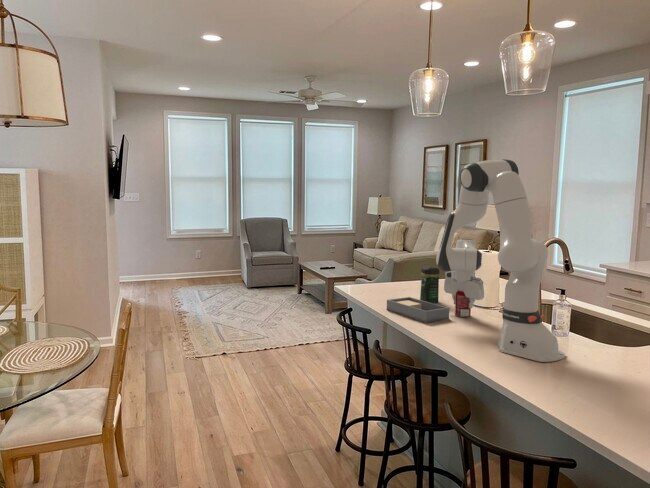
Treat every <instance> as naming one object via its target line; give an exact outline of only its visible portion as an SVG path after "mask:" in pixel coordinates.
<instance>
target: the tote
mask: <svg viewBox="0 0 650 488" xmlns="http://www.w3.org/2000/svg"><path fill="white" fill-rule="evenodd" d="M406 300H409V301H413V302H416V303H420V304H421V309H418V308H415V307H411V306H408V305H405V304H401V303H398V302H399V301H406ZM386 311H388V312H391V313H395V314H397V315H400V316H402V315H403V317H404V318H409V319H412V320H414V321H418V322H422V323H423V324H428V323H429V324H430V323H436V322H441V321H446V320H450V307H447V306H443V305H439V304H438V303H434V304H433V303H430V302H426V301H422V300H420V298H419V299H418V298H415V297H411V296H406V297H399V298H389V299H386Z"/></svg>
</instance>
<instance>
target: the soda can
mask: <svg viewBox="0 0 650 488" xmlns="http://www.w3.org/2000/svg"><path fill="white" fill-rule="evenodd" d="M469 303H470V300H469V298H467V297H466V296H465V293H464V291H461V290H457V292H456V293H455V304H454V315H455V317H456V316H457V317H459V318H469V317H471V309H472V308H467V304H469Z"/></svg>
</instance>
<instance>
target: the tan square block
mask: <svg viewBox="0 0 650 488" xmlns="http://www.w3.org/2000/svg"><path fill="white" fill-rule="evenodd" d="M398 303H401V304H405V305H408V306H411V307H415V308H418V309H421V304H420V303H416V302H413V301H409V300H406V301H399V302H398Z"/></svg>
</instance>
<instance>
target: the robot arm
mask: <svg viewBox="0 0 650 488" xmlns="http://www.w3.org/2000/svg"><path fill="white" fill-rule="evenodd" d="M519 172H520V171H519V168H518V164H517V163H516V162H515V161H514V160H510V159H502V158H501V159H494V160H490V159H489V160H488V159H487V160H482V161H478V162H471V163H468V164H466V165H464V166H463V167H462V169H461V171H460V174H459V175H460V176H459V178H460V179H459V180H460V183H461V186H460V190H459V198H458V204H457V207H456V208H455V210H454V211H451V212H450V213H449V215H448V217H447V221H446V223H445V227H444V231H443V234H442V237H441V243H440V246H439V248H438V250H437V253H436V258H435V262H436V266H437V268H438V269H439V270H441V271H443V272H445V273H444V276H445V279H444V282H443V283H444V284H443V285H444V286H443V291H444V292H445V293H446V294H451V298H452V300H453V305H455V293H456V292H457V290H461V291H464V293H465V296H466V297H467V298H469V300H470V303H469V304H467V308H471V309H473V308H474V303H475V302H476V301H481V300H483V299H484V298H485V289H484V281H483V280H482V278H480V277H477V276H476V277H475V274H476V271H478V270H479V269H480V268H481V267H482V257H483V253H482V252H481V251H480V250H478V249H477V248H476V241H475V240H474V239H472V238H460V239H457V240H456V244H455V247H452V245H453V241H454V237H455V234H456V232H457V231H458V230H459V229H461V228H463V227H465V226H468V225H472V224H475V223H477V222H479V221H480V220H482V219H483V218H484V216H485V215H486V214H487V210H488V205H489V203H488V202H489V192H490V193H491V194H492V198H493V203H494V204H493V205H494V208H495V211H496V216H497V221H498V226H499V244H500V245H499V251H498V252H497V261H498V264H499V265H500V267H501V268H502V269H504V270H505V271H508V272H510V273H509V274H510V275H509V278H508V280H507V282H506V284H505V287H504V302H503V303H504V305H503V307H502V316H501V318H502V327H501V332H500V336H499V339H498V342H497V347H498V348H499V351H500V352H501V353H505V354H509V355H513V356H517V357H520V358H525V359H528V360H532V361H535V362H539V363H540V362H541V363H550V362H557V361H560V360H563V359H565V357H566V353H565V352H564V351H561V350H559V343H558V341H559V340H558V338H557V336H556V335H554V333H552V331H551V330H549V328H547V326H546V325H545V324H544V323H543V321H542V319H545V314H541V313H540V311H539V310H538V308H539V307H538V306H539V296H540V295H539V294H540V293H539V292H540V285H541V282H542V277H543V273H544V269H545V265H546V262H547V260H548V257H549V251H548V247H547V245H546V244H545V243H543V242H542V241H540V240H538V239H535V238H532V223H533V217H532V211H531V209H530V208H531V207H530V205H529V200H528V196H527V193H526V189H525V187H524V184H523V182H522V180H521V177H520V175H519Z"/></svg>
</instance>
